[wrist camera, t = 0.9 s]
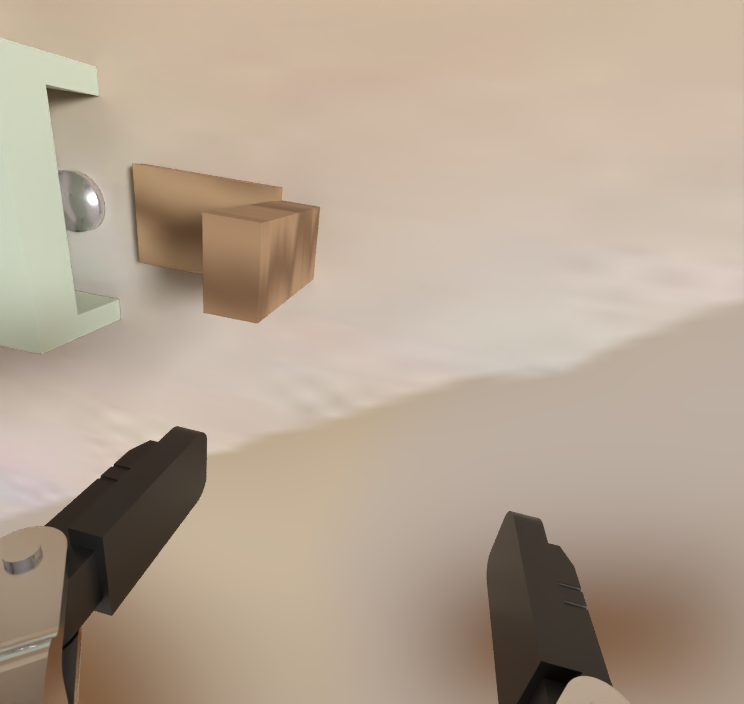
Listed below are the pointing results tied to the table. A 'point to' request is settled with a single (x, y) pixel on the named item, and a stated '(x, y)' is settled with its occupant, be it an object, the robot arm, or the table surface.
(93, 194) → the disc
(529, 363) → the table surface
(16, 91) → the pale green bench
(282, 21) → the table surface
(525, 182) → the table surface
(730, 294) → the table surface
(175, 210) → the brown wooden block
